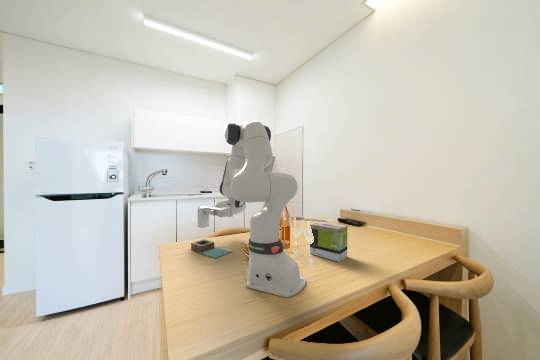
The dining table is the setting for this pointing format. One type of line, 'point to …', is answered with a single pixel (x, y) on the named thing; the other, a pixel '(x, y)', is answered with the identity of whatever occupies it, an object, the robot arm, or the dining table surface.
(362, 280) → the dining table surface
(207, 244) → the socket block
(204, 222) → the steel peg
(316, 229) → the tea box
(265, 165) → the robot arm
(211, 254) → the rubber mat
